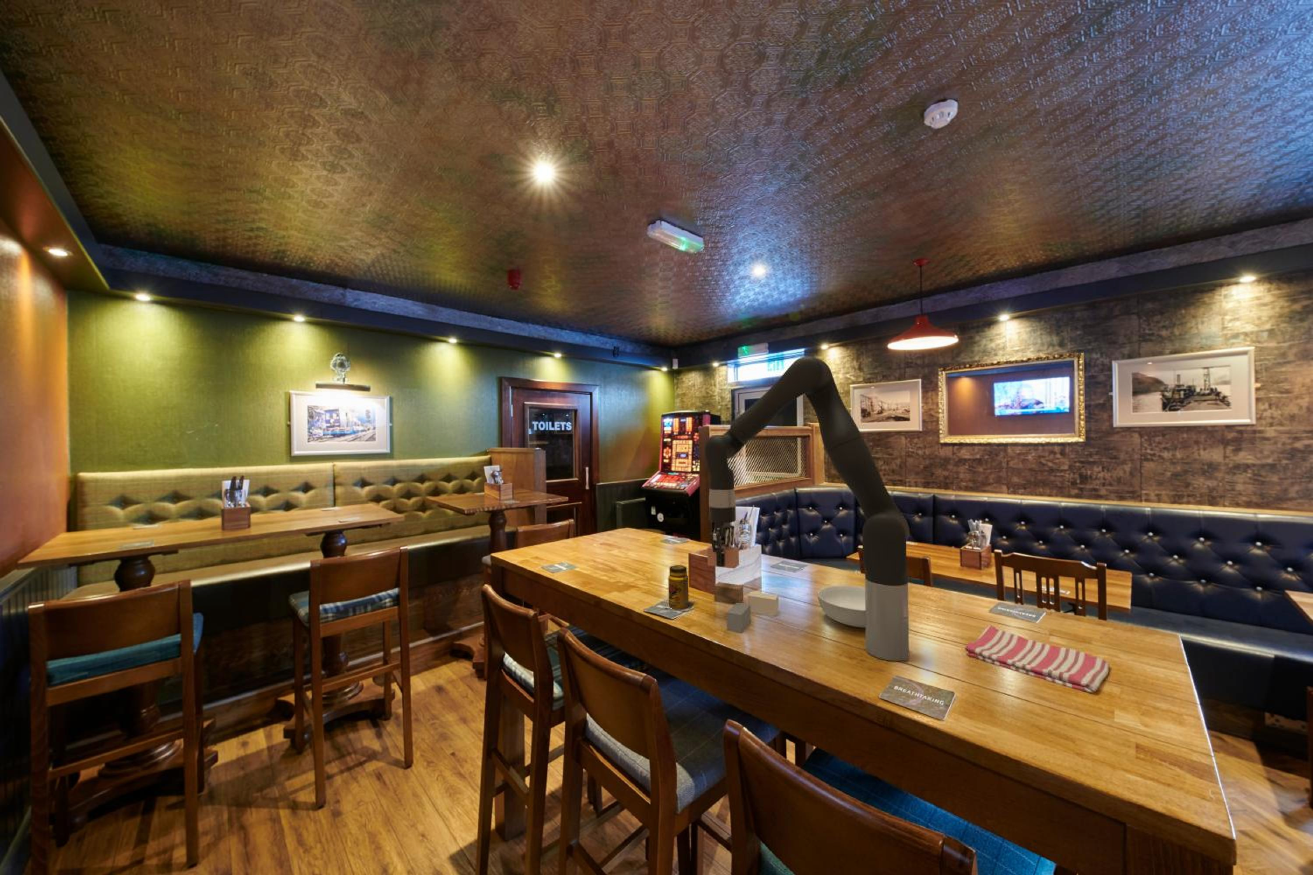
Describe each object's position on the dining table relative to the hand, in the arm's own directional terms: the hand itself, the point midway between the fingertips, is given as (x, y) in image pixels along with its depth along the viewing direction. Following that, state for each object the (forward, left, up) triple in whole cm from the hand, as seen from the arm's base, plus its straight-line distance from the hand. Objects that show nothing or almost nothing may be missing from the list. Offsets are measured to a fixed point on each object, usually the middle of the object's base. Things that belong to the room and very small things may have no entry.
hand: (723, 563), depth 137 cm
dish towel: (-72, -5, -15) cm, 74 cm away
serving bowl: (-34, -12, -15) cm, 40 cm away
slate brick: (-6, +6, -15) cm, 17 cm away
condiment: (+15, -1, -15) cm, 21 cm away
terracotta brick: (0, 0, 0) cm, 0 cm away
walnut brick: (+3, -11, -15) cm, 19 cm away
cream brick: (-9, -7, -15) cm, 19 cm away
